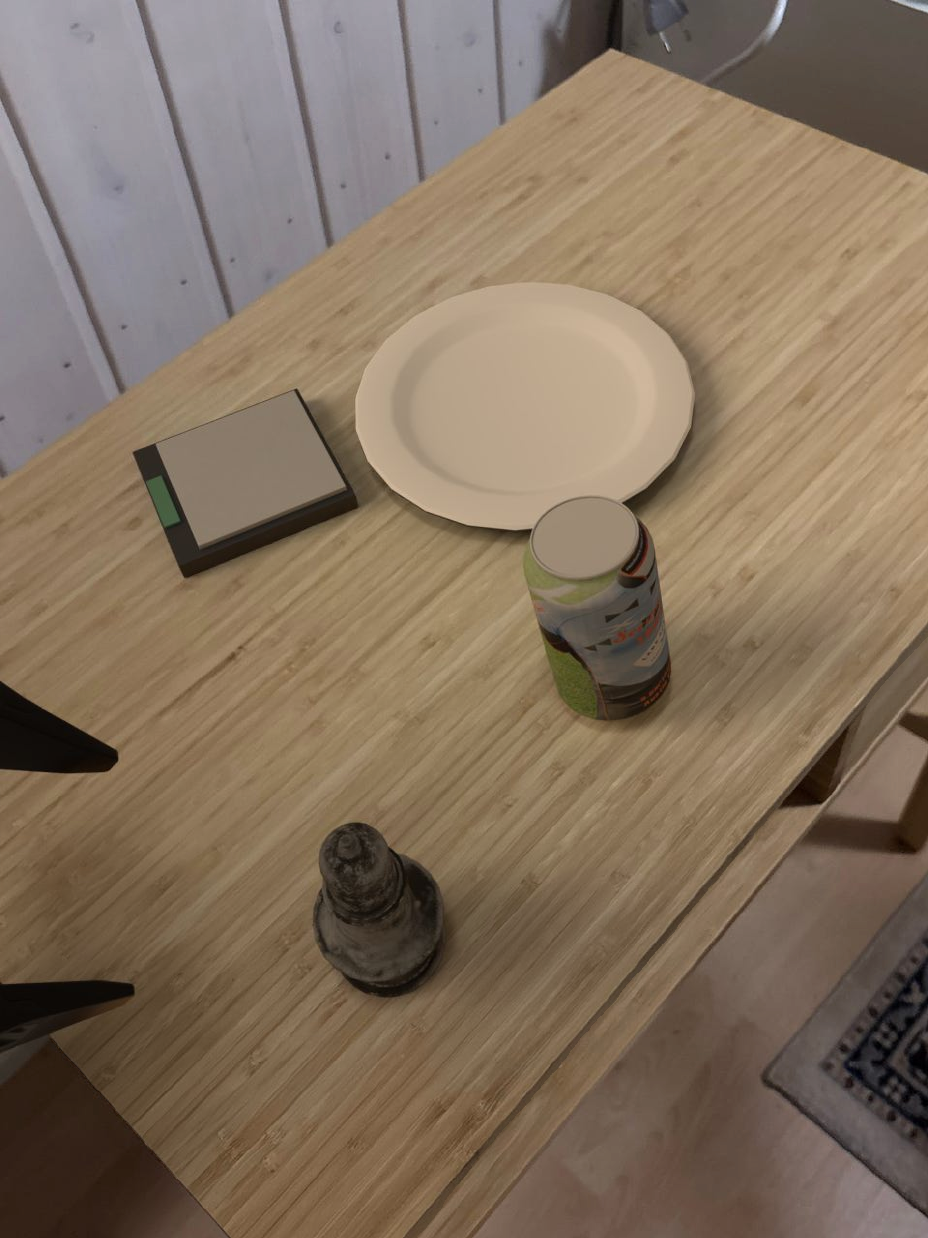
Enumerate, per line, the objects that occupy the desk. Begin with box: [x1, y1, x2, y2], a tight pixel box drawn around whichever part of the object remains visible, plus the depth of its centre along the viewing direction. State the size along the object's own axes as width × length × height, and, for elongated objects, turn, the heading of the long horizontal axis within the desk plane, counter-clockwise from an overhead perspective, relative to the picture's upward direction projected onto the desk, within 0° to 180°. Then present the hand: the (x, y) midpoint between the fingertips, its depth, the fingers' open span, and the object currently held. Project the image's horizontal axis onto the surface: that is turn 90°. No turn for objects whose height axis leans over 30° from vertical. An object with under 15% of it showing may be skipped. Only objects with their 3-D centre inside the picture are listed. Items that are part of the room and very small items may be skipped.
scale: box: [132, 387, 359, 579], centre depth 69 cm, size 11×10×2 cm
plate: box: [354, 281, 696, 533], centre depth 71 cm, size 21×21×2 cm
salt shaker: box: [311, 821, 446, 998], centre depth 49 cm, size 6×6×12 cm
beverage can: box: [522, 495, 672, 722], centre depth 55 cm, size 6×7×12 cm
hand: (121, 871), depth 42 cm, fingers open, 9 cm apart
